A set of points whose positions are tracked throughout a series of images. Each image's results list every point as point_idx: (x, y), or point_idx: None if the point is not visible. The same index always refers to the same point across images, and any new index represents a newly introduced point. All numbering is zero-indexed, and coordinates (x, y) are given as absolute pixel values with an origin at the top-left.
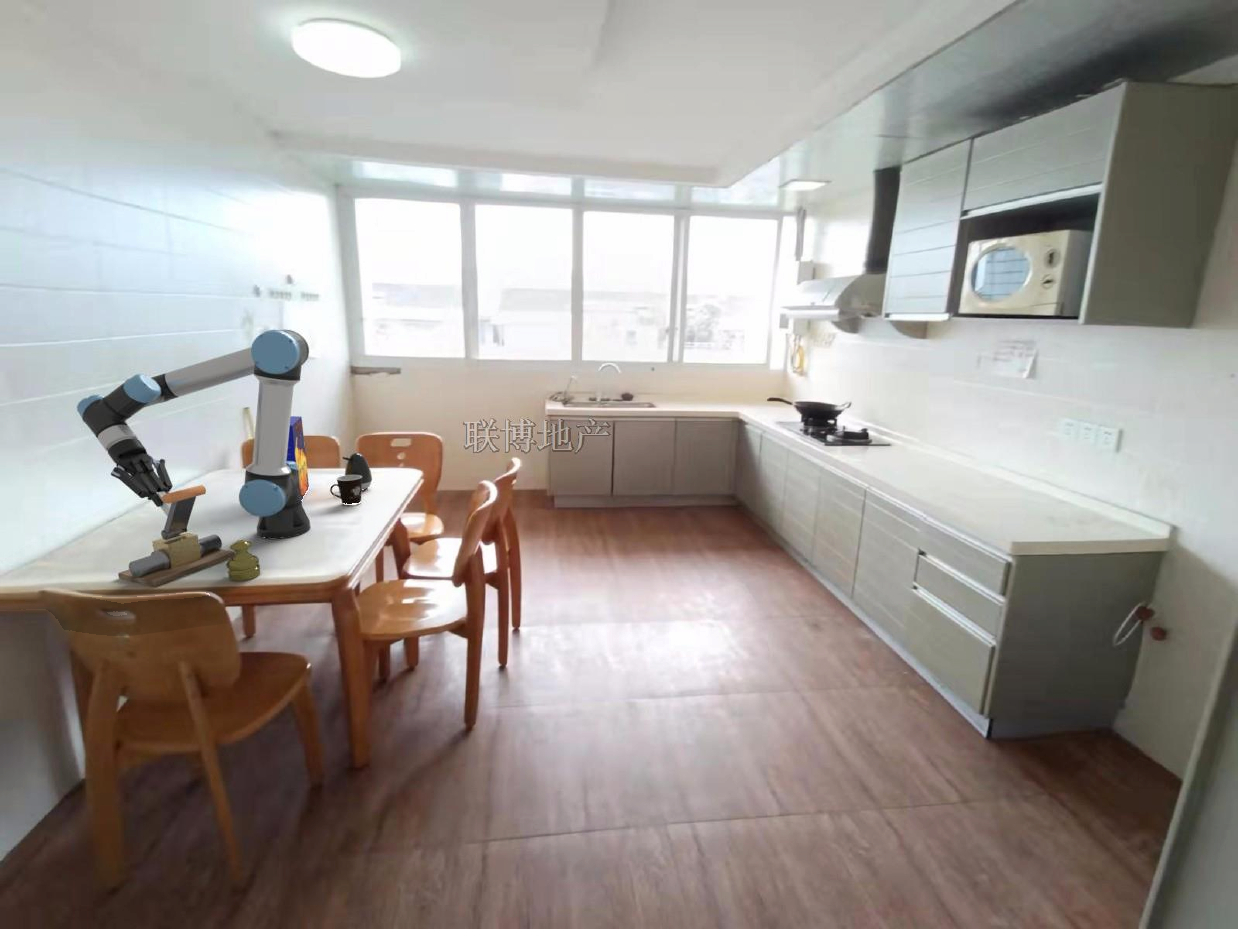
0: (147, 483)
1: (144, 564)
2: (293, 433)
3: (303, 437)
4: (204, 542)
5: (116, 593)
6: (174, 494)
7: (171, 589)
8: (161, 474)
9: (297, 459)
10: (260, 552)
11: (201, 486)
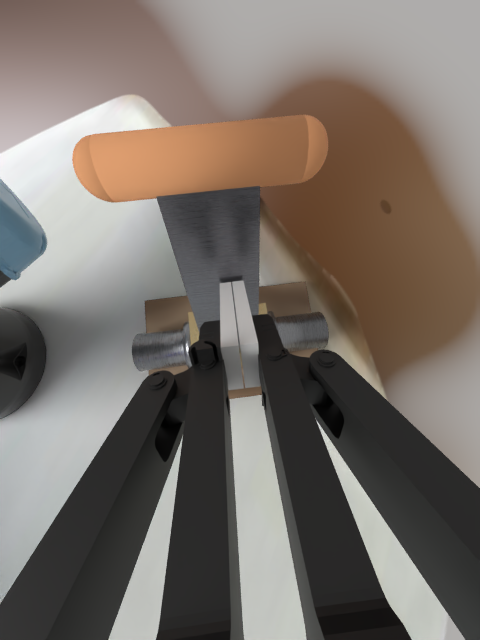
0: (301, 417)
1: (309, 314)
2: None
3: None
4: (173, 332)
5: (349, 314)
6: (277, 117)
7: (292, 253)
8: (101, 565)
9: None
10: (111, 284)
11: (105, 134)
